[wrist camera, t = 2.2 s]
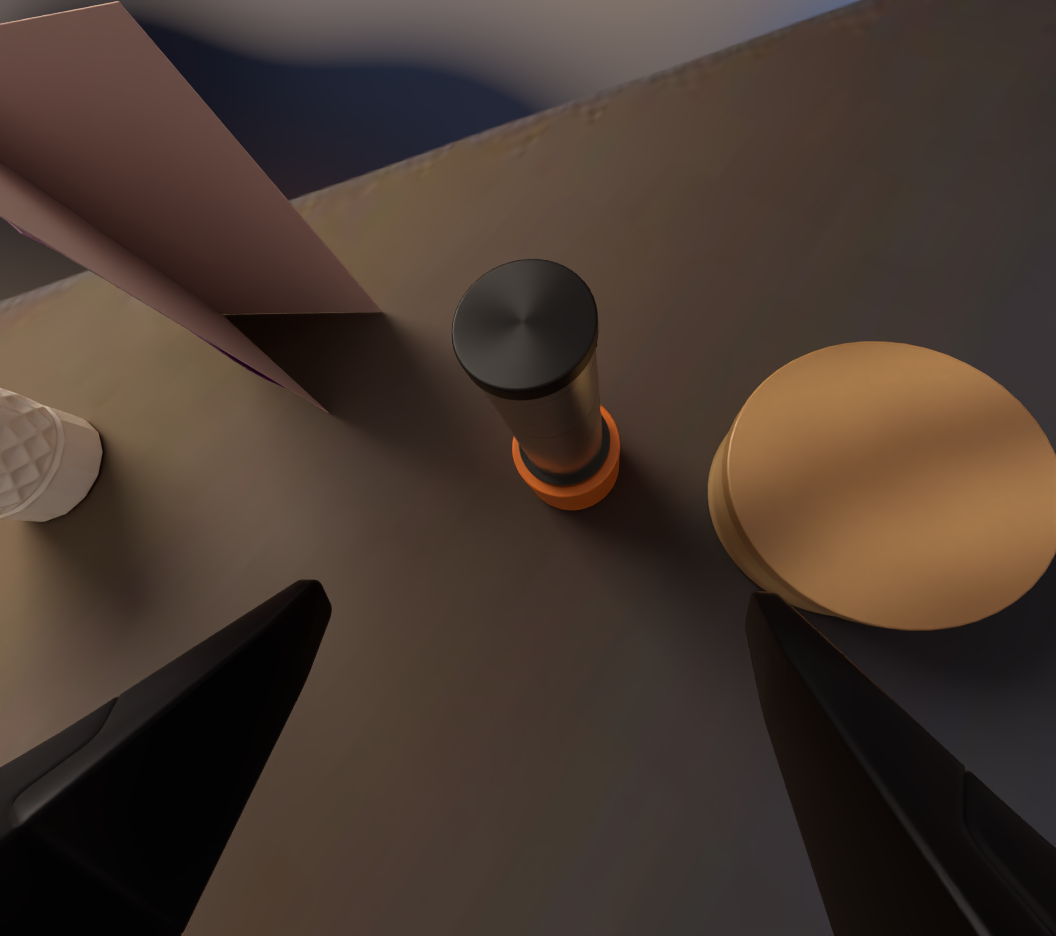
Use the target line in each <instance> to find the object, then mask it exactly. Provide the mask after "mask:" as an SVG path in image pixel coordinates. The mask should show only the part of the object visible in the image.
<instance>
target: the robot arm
mask: <svg viewBox="0 0 1056 936" xmlns="http://www.w3.org/2000/svg"><path fill="white" fill-rule="evenodd" d="M331 612H332V607H331V603H330V601H329V599H328V597H327V595H326V593H325V591H324V589H323V586H322V584H321V583H320V582H319V581H318V580H305V579H303V580H299V581H297V582H295V583H293V584H292V585H290V586H289V587H287V588H286V589H284V590H282V591H281V592H279V593H278V594H276V595H275V596H273V597H272V598H270V599H268V600H267V601H265V602H264V603H262V604H261V605H259V606H257V607H256V608H254V609H253V610H251V611H250V612H248V613H247V614H245V615H243V616H242V617H240V618H239V619H237V620H236V621H234V622H232V623H231V624H229V625H228V626H226V627H225V628H223V629H222V630H220V631H218V632H217V633H215V634H214V635H212V636H211V637H209V638H208V639H206V640H204V641H203V642H201V643H200V644H198V645H197V646H195V647H193V648H192V649H190V650H189V651H187V652H186V653H184V654H183V655H181V656H179V657H178V658H176V659H175V660H173V661H172V662H170V663H168V664H167V665H165V666H164V667H162V668H161V669H159V670H158V671H156V672H154V673H153V674H151V675H150V676H148V677H147V678H145V679H143V680H142V681H140V682H139V683H137V684H136V685H134V686H133V687H131V688H129V689H128V690H126V691H125V692H123V693H122V694H121V695H120V696H119V697H115V698H114V699H112V700H111V701H109V702H107V703H106V704H104V705H103V706H101V707H100V708H98V709H97V710H95V711H94V712H92V713H90V714H89V715H87V716H86V717H84V718H82V719H81V720H79V721H77V722H76V723H74V724H73V725H71V726H69V727H68V728H66V729H65V730H63V731H61V732H60V733H58V734H57V735H55V736H53V737H51V738H50V739H48V740H46V741H45V742H43V743H41V744H40V745H38V746H36V747H35V748H33V749H31V750H30V751H28V752H26V753H25V754H23V755H21V756H19V757H18V758H16V759H14V760H13V761H11V762H9V763H7V764H6V765H4V766H2V767H1V768H0V936H181V934H182V933H183V932H184V930H185V928H186V926H187V924H188V922H189V920H190V918H191V916H192V914H193V912H194V909H195V907H196V905H197V903H198V901H199V899H200V897H201V895H202V893H203V891H204V889H205V887H206V885H207V883H208V881H209V879H210V877H211V875H212V873H213V871H214V869H215V867H216V865H217V863H218V860H219V858H220V856H221V854H222V852H223V850H224V848H225V846H226V844H227V842H228V840H229V838H230V836H231V834H232V832H233V830H234V828H235V826H236V824H237V822H238V820H239V818H240V816H241V813H242V811H243V809H244V807H245V805H246V803H247V801H248V799H249V797H250V795H251V793H252V791H253V789H254V787H255V785H256V783H257V781H258V779H259V777H260V775H261V773H262V771H263V769H264V766H265V764H266V762H267V760H268V758H269V756H270V754H271V752H272V750H273V748H274V746H275V744H276V742H277V740H278V738H279V736H280V734H281V732H282V730H283V728H284V726H285V724H286V722H287V719H288V717H289V715H290V713H291V711H292V709H293V707H294V705H295V703H296V701H297V699H298V697H299V695H300V693H301V691H302V689H303V686H304V684H305V682H306V680H307V677H308V675H309V672H310V670H311V667H312V665H313V662H314V659H315V657H316V654H317V651H318V649H319V646H320V643H321V641H322V638H323V636H324V633H325V630H326V628H327V625H328V622H329V620H330V617H331ZM746 635H747V640H748V645H749V649H750V654H751V659H752V664H753V669H754V674H755V679H756V684H757V689H758V694H759V698H760V703H761V708H762V712H763V716H764V720H765V723H766V726H767V730H768V733H769V736H770V739H771V742H772V745H773V748H774V751H775V754H776V758H777V761H778V764H779V767H780V770H781V773H782V776H783V779H784V782H785V785H786V788H787V792H788V795H789V798H790V801H791V804H792V807H793V810H794V813H795V816H796V819H797V822H798V826H799V829H800V832H801V835H802V838H803V841H804V844H805V847H806V850H807V853H808V856H809V860H810V863H811V866H812V869H813V872H814V875H815V878H816V881H817V884H818V887H819V890H820V894H821V897H822V900H823V903H824V906H825V909H826V912H827V915H828V918H829V921H830V925H831V928H832V931H833V934H834V936H1056V848H1055V847H1054V846H1053V845H1051V844H1050V843H1049V842H1048V841H1047V840H1045V839H1044V838H1043V837H1042V836H1041V835H1040V834H1039V833H1038V832H1037V831H1035V830H1034V829H1033V828H1032V827H1031V826H1030V825H1029V824H1028V823H1027V822H1025V821H1024V820H1023V819H1022V818H1021V817H1020V816H1019V815H1018V814H1016V813H1015V812H1014V811H1013V810H1012V809H1011V808H1010V807H1009V806H1008V805H1006V804H1005V803H1004V802H1003V801H1002V800H1001V799H1000V798H999V797H998V796H996V795H995V794H994V793H993V792H992V791H991V790H990V789H989V788H988V787H987V786H986V785H985V784H984V783H982V782H981V781H980V780H979V779H978V778H977V777H976V776H975V775H974V774H973V773H972V772H970V771H965V767H964V765H963V764H962V763H961V762H959V761H958V760H957V759H956V758H955V757H954V756H953V755H952V754H951V753H950V752H949V751H948V750H947V749H945V748H944V747H943V746H942V745H941V744H940V743H939V742H938V741H937V740H936V739H935V738H934V737H932V736H931V735H930V734H929V733H928V732H927V731H926V730H925V729H924V728H923V727H922V726H921V725H920V724H918V723H917V722H916V721H915V720H914V719H913V718H912V717H911V716H910V715H909V714H908V713H907V712H905V711H904V710H903V709H902V708H901V707H900V706H899V705H898V704H897V703H896V702H895V701H894V700H893V699H891V698H890V697H889V696H888V695H887V694H886V693H885V692H884V691H883V690H882V689H881V688H880V687H878V686H877V685H876V684H875V683H874V682H873V681H872V680H871V679H870V678H869V677H868V676H867V675H866V674H864V673H863V672H862V671H861V670H860V669H859V668H858V667H857V666H856V665H855V664H854V663H853V662H851V661H850V660H849V659H848V658H847V657H846V656H845V655H844V654H843V653H842V652H841V651H840V650H839V649H837V648H836V647H835V646H834V645H833V644H832V643H831V642H830V641H829V640H828V639H827V638H826V637H824V636H823V635H822V634H821V633H820V632H819V631H818V630H817V629H816V628H815V627H814V626H813V625H812V624H810V623H809V622H808V621H807V620H806V619H805V618H804V617H803V616H802V615H801V614H800V613H799V612H798V611H796V610H795V609H794V608H793V607H792V606H791V605H790V604H789V603H788V602H787V601H786V600H785V599H783V598H782V597H781V596H780V595H779V594H777V593H775V592H760V591H756V592H753V593H752V594H751V597H750V601H749V606H748V612H747V617H746Z"/></svg>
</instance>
